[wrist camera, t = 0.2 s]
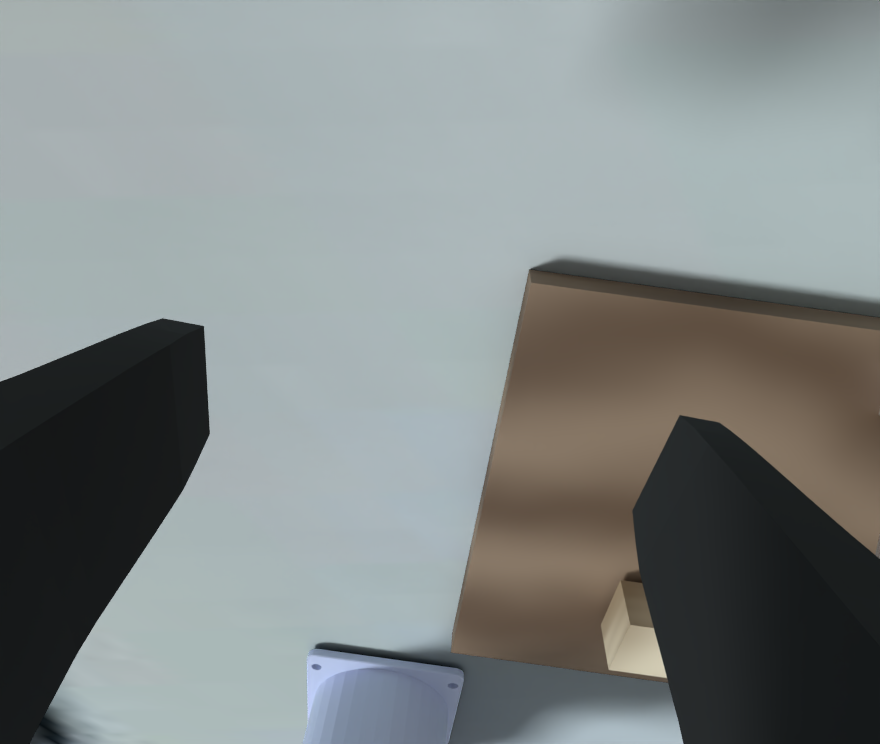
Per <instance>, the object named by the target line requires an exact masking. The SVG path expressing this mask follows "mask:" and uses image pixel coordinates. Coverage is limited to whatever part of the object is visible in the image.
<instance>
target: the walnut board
mask: <svg viewBox="0 0 880 744" xmlns="http://www.w3.org/2000/svg"><path fill="white" fill-rule="evenodd" d="M879 410H880V318H878V317H871V316H864V315H857V314H849V313H842V312H835V311H828V310H820V309H813V308H806V307H798V306H791V305H784V304H777V303H769V302H762V301H755V300H748V299H740V298H733V297H726V296H718V295H711V294H704V293H697V292H689V291H682V290H675V289H668V288H660V287H653V286H646V285H639V284H631V283H624V282H617V281H609V280H602V279H595V278H588V277H580V276H573V275H566V274H559V273H551V272H544V271H537V270H529V273H528V278H527V283H526V287H525V292H524V297H523V301H522V306H521V311H520V316H519V320H518V325H517V330H516V335H515V339H514V344H513V349H512V353H511V358H510V363H509V368H508V372H507V377H506V382H505V387H504V391H503V396H502V401H501V405H500V410H499V415H498V420H497V424H496V429H495V434H494V439H493V443H492V448H491V453H490V457H489V462H488V467H487V472H486V476H485V481H484V486H483V490H482V495H481V500H480V505H479V509H478V514H477V519H476V524H475V528H474V533H473V538H472V542H471V547H470V552H469V557H468V561H467V566H466V571H465V576H464V580H463V585H462V590H461V594H460V599H459V604H458V609H457V613H456V618H455V623H454V628H453V632H452V646H451V653H458V654H465V655H472V656H479V657H487V658H494V659H501V660H508V661H515V662H523V663H530V664H537V665H544V666H551V667H559V668H566V669H573V670H580V671H587V672H595V673H602V674H609V675H616V676H623V677H631V678H638V679H645V680H652V681H659V682H666V683H668V680H667V678H664V677H656V676H649V675H642V674H635V673H628V672H620V671H613V670H609V669H608V664H607V658H606V652H605V646H604V640H603V635H602V629H601V623H602V621H603V619H604V617H605V614H606V612H607V610H608V607H609V605H610V603H611V601H612V598H613V596H614V594H615V591H616V589H617V587H618V585H619V582H620V580H623V581H631V582H638V583H642V580H641V576H640V572H639V565H638V557H637V550H636V542H635V532H634V523H633V513H632V510H633V508H634V506H635V504H636V502H637V500H638V498H639V496H640V494H641V492H642V490H643V488H644V486H645V484H646V482H647V480H648V478H649V476H650V474H651V472H652V470H653V468H654V466H655V464H656V462H657V460H658V458H659V456H660V454H661V452H662V450H663V448H664V446H665V444H666V442H667V439H668V437H669V435H670V433H671V431H672V429H673V427H674V425H675V423H676V421H677V419H678V417H679V415H682V416H688V417H693V418H698V419H704V420H709V421H715V422H719V423H721V424H722V425H724V426H725V427H726V428H728V429H729V430H730V431H732V432H733V433H734V434H736V435H737V436H738V437H739V438H741V439H742V440H743V441H744V442H745V443H747V444H748V445H749V446H750V447H751V448H752V449H754V450H755V451H756V452H757V453H758V454H759V455H761V456H762V457H763V458H764V459H765V460H766V461H768V462H769V463H770V464H771V465H772V466H773V467H774V468H775V469H777V470H778V471H779V472H780V473H781V474H782V475H783V476H785V477H786V478H787V479H788V480H789V481H790V482H791V483H792V484H794V485H795V486H796V487H797V488H798V489H799V490H800V491H802V492H803V493H804V494H805V495H806V496H807V497H808V498H809V499H811V500H812V501H813V502H814V503H815V504H816V505H817V506H819V507H820V508H821V509H822V510H823V511H824V512H825V513H827V514H828V515H829V516H830V517H831V518H832V519H833V520H835V521H836V522H837V523H838V524H839V525H840V526H842V527H843V528H844V529H845V530H846V531H847V532H849V533H850V534H851V535H852V536H853V537H854V538H856V539H857V540H858V541H859V542H860V543H862V544H863V545H864V546H865V547H866V548H867V549H869V550H870V551H871V552H872V553H873V554H875V553H876V548H877V544H878V539H879V535H880V415H879Z"/></svg>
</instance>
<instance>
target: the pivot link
mask: <svg viewBox="0 0 880 744" xmlns="http://www.w3.org/2000/svg"><path fill="white" fill-rule="evenodd" d="M601 629H602V635H603V640H604V646H605V652H606V658H607V664H608V669H609V670H613V671H620V672H628V673H635V674H642V675H649V676H656V677H664V678H667V676H666V672H665V668H664V664H663V661H662V657H661V653H660V649H659V646H658V642H657V638H656V634H655V631H654V627H653V623H652V619H651V615H650V612H649V608H648V604H647V600H646V596H645V592H644V588H643V584H642V583H638V582H631V581H623V580H620V582H619V585H618V587H617V589H616V591H615V594H614V596H613V598H612V601H611V603H610V605H609V607H608V610H607V612H606V614H605V617H604V619H603V621H602V623H601Z"/></svg>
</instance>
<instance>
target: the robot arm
mask: <svg viewBox="0 0 880 744" xmlns="http://www.w3.org/2000/svg"><path fill="white" fill-rule="evenodd" d="M209 434H210V430H209V412H208V394H207V375H206V357H205V339H204V326H200V325H195V324H189V323H184V322H179V321H173V320H168V319H160V320H156V321H153V322H150V323H147V324H144V325H141V326H139V327H136V328H133V329H131V330H128V331H126V332H123V333H121V334H118V335H116V336H113V337H111V338H108V339H106V340H103V341H101V342H99V343H96V344H94V345H91V346H89V347H86V348H84V349H82V350H79V351H77V352H74V353H72V354H69V355H67V356H64V357H62V358H59V359H57V360H54V361H52V362H50V363H47V364H45V365H42V366H40V367H37V368H35V369H32V370H30V371H27V372H25V373H22V374H20V375H17V376H15V377H12V378H9V379H7V380H4V381H1V382H0V744H30V742H31V740H32V738H33V736H34V734H35V732H36V730H37V728H38V726H39V724H40V722H41V720H42V719H43V717H44V715H45V713H46V711H47V709H48V707H49V705H50V703H51V702H52V700H53V698H54V696H55V694H56V692H57V690H58V688H59V687H60V685H61V683H62V681H63V679H64V677H65V675H66V673H67V672H68V670H69V668H70V666H71V664H72V662H73V660H74V658H75V657H76V655H77V653H78V651H79V650H80V648H81V646H82V645H83V643H84V641H85V640H86V638H87V636H88V635H89V633H90V632H91V630H92V628H93V627H94V625H95V623H96V622H97V620H98V619H99V617H100V616H101V614H102V613H103V611H104V610H105V608H106V606H107V605H108V603H109V602H110V600H111V599H112V597H113V596H114V594H115V593H116V591H117V590H118V588H119V587H120V585H121V584H122V582H123V581H124V579H125V578H126V576H127V575H128V573H129V572H130V570H131V569H132V567H133V566H134V564H135V563H136V561H137V560H138V558H139V557H140V555H141V554H142V552H143V551H144V549H145V548H146V546H147V545H148V543H149V542H150V540H151V539H152V537H153V536H154V534H155V533H156V531H157V529H158V528H159V526H160V525H161V523H162V522H163V520H164V519H165V517H166V516H167V514H168V513H169V511H170V509H171V508H172V506H173V505H174V503H175V502H176V500H177V499H178V497H179V495H180V494H181V492H182V491H183V489H184V487H185V485H186V483H187V481H188V479H189V477H190V475H191V473H192V471H193V469H194V467H195V465H196V463H197V460H198V458H199V456H200V454H201V452H202V450H203V447H204V445H205V443H206V441H207V439H208V436H209ZM632 513H633V523H634V532H635V542H636V550H637V557H638V565H639V572H640V576H641V580H642V584H643V588H644V592H645V596H646V600H647V604H648V608H649V612H650V615H651V619H652V623H653V627H654V631H655V634H656V638H657V642H658V646H659V649H660V653H661V657H662V661H663V664H664V668H665V672H666V676H667V680H668V683H669V687H670V691H671V695H672V698H673V702H674V706H675V710H676V713H677V717H678V721H679V725H680V730H681V734H682V739H683V743H684V744H880V559H879V558H878V557H877V556H876V555H875V554H873V553H872V552H871V551H870V550H869V549H867V548H866V547H865V546H864V545H863V544H862V543H860V542H859V541H858V540H857V539H856V538H854V537H853V536H852V535H851V534H850V533H849V532H847V531H846V530H845V529H844V528H843V527H842V526H840V525H839V524H838V523H837V522H836V521H835V520H833V519H832V518H831V517H830V516H829V515H828V514H827V513H825V512H824V511H823V510H822V509H821V508H820V507H819V506H817V505H816V504H815V503H814V502H813V501H812V500H811V499H809V498H808V497H807V496H806V495H805V494H804V493H803V492H802V491H800V490H799V489H798V488H797V487H796V486H795V485H794V484H792V483H791V482H790V481H789V480H788V479H787V478H786V477H785V476H783V475H782V474H781V473H780V472H779V471H778V470H777V469H775V468H774V467H773V466H772V465H771V464H770V463H769V462H768V461H766V460H765V459H764V458H763V457H762V456H761V455H759V454H758V453H757V452H756V451H755V450H754V449H752V448H751V447H750V446H749V445H748V444H747V443H745V442H744V441H743V440H742V439H741V438H739V437H738V436H737V435H736V434H734V433H733V432H732V431H730V430H729V429H728V428H726V427H725V426H724V425H722V424H721V423H719V422H715V421H709V420H704V419H698V418H693V417H688V416H682V415H679V417H678V419H677V421H676V423H675V425H674V427H673V429H672V431H671V433H670V435H669V437H668V439H667V442H666V444H665V446H664V448H663V450H662V452H661V454H660V456H659V458H658V460H657V462H656V464H655V466H654V468H653V470H652V472H651V474H650V476H649V478H648V480H647V482H646V484H645V486H644V488H643V490H642V492H641V494H640V496H639V498H638V500H637V502H636V504H635V506H634V508H633V510H632ZM463 682H464V673H463V671H462V670H460V669H458V668H452V667H445V666H438V665H430V664H423V663H416V662H409V661H402V660H395V659H387V658H380V657H373V656H366V655H359V654H351V653H344V652H337V651H330V650H323V649H312V650H311V651H309V653H308V657H307V698H308V724H307V728H306V732H305V736H304V740H303V744H448V743H449V739H450V735H451V731H452V727H453V723H454V719H455V715H456V711H457V707H458V703H459V699H460V695H461V691H462V686H463Z"/></svg>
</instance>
